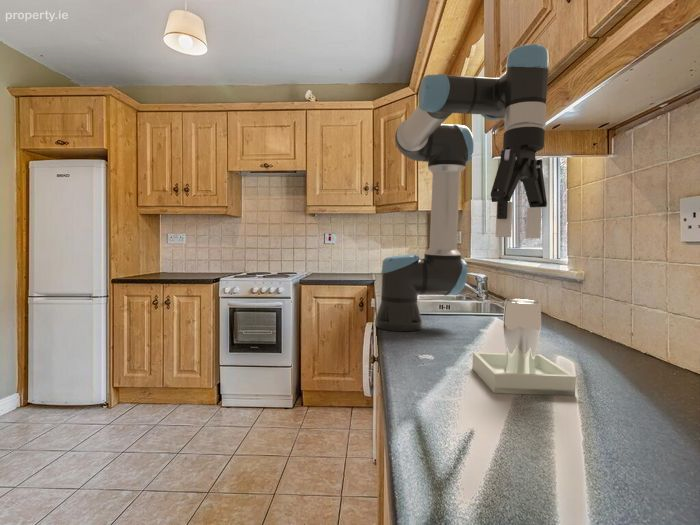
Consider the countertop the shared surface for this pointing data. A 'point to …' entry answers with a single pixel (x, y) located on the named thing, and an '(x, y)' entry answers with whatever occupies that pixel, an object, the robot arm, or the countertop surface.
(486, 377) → the tray
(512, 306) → the beer glass
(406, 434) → the countertop surface
